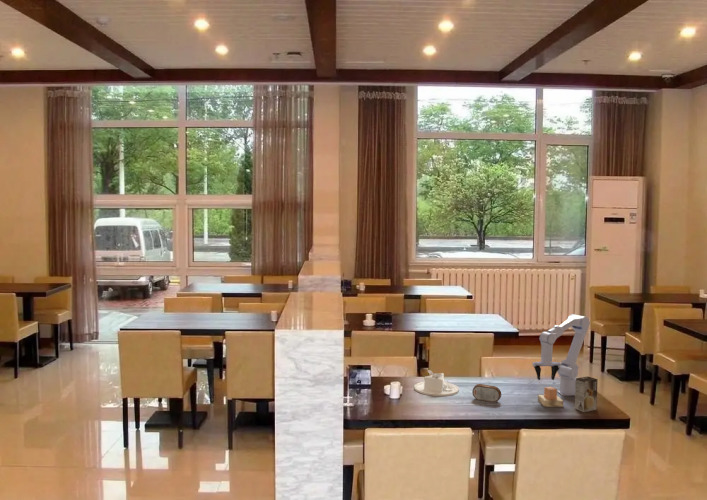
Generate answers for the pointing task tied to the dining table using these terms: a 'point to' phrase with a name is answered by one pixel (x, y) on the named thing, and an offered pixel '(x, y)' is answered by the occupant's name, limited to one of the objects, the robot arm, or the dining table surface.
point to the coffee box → (586, 394)
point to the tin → (486, 393)
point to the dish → (436, 386)
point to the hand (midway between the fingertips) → (545, 379)
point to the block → (550, 393)
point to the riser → (550, 401)
